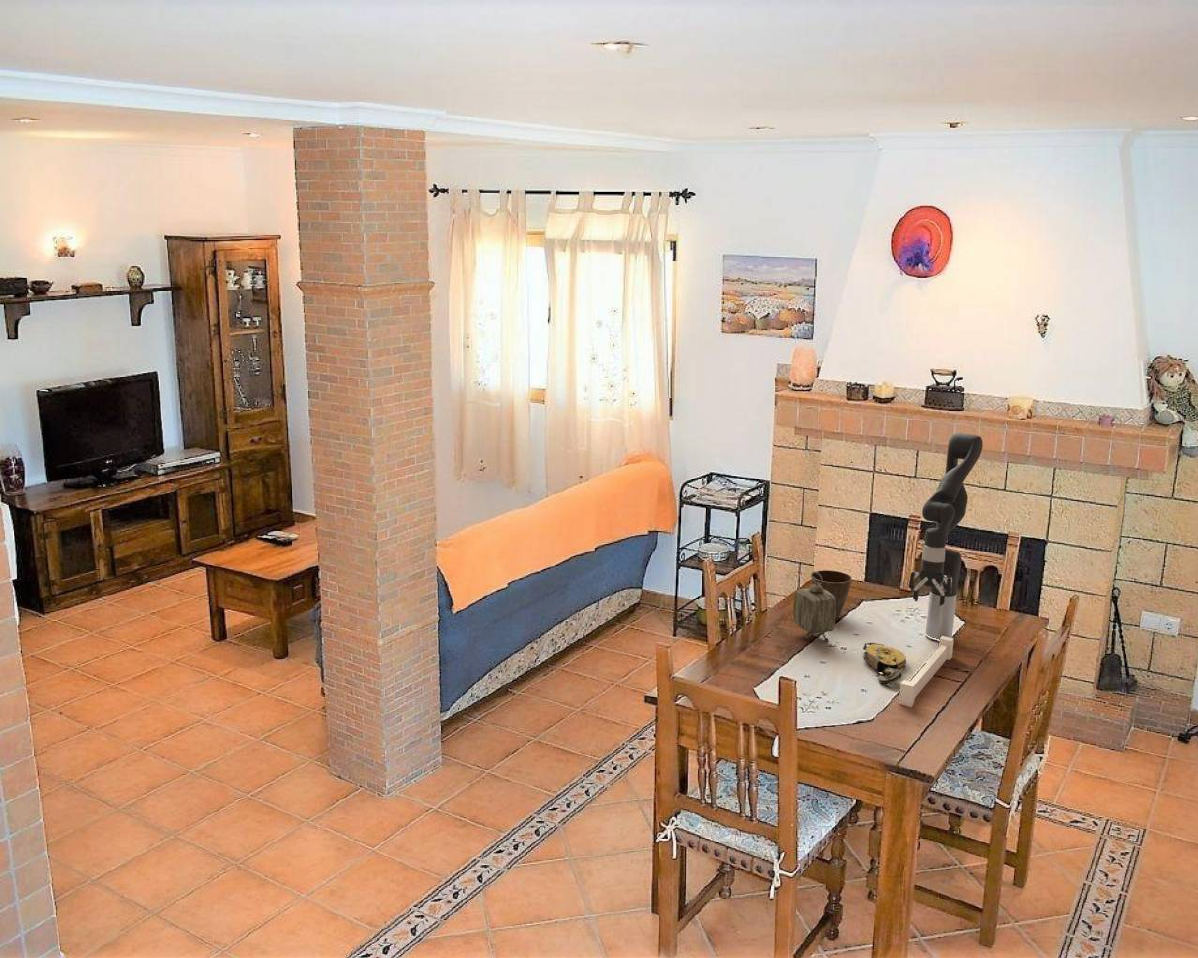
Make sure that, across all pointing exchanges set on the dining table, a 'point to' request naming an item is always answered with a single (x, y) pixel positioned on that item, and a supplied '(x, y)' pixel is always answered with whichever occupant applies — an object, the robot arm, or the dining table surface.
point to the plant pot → (835, 586)
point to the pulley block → (885, 661)
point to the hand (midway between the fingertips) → (928, 602)
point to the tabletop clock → (815, 609)
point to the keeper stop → (925, 672)
